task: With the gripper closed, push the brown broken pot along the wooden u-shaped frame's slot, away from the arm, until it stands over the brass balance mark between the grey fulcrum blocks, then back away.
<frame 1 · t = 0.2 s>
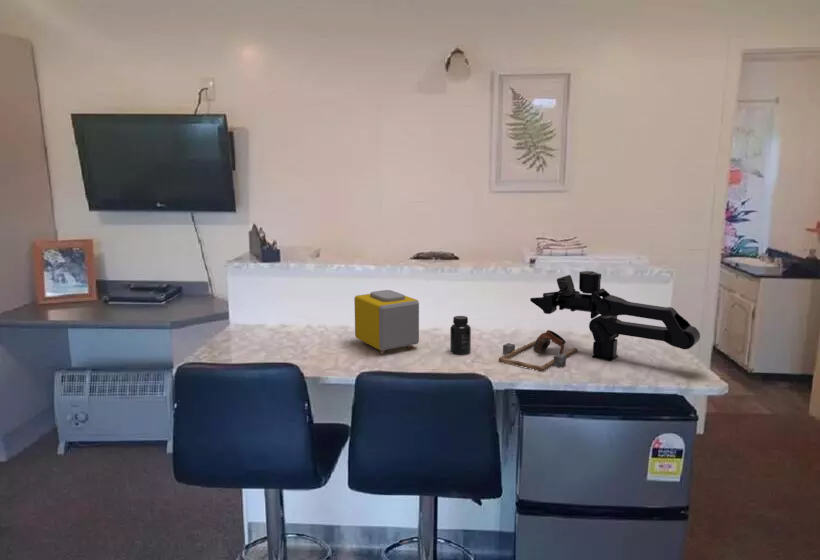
hand: (537, 297, 208), 16 cm above the table, tool horizontal, fingers open, 9 cm apart
wooden u-shaped frame: (533, 359, 193), on the table
alarm clock: (387, 346, 209), on the table
supplement bottle: (460, 352, 201), on the table
brown broken pot: (547, 353, 201), on the table
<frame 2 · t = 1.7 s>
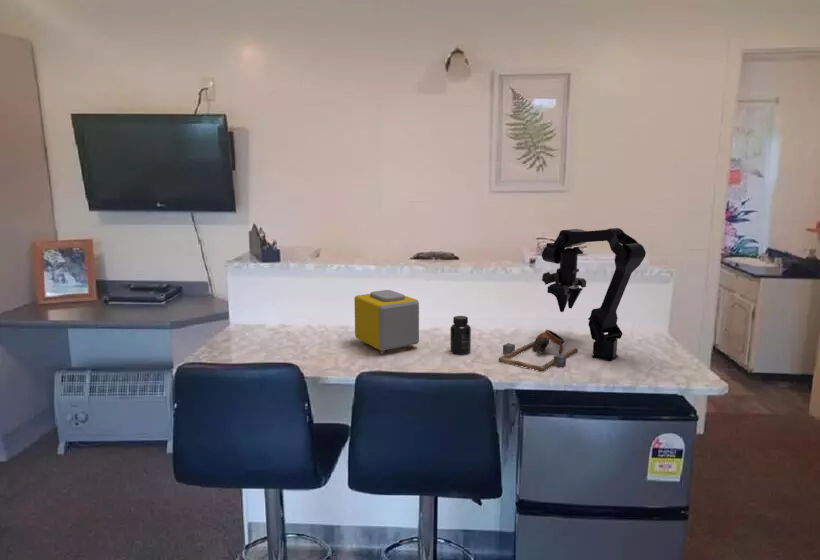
hand: (566, 310, 208), 12 cm above the table, tool pointing down, fingers open, 6 cm apart
nothing on the table moved.
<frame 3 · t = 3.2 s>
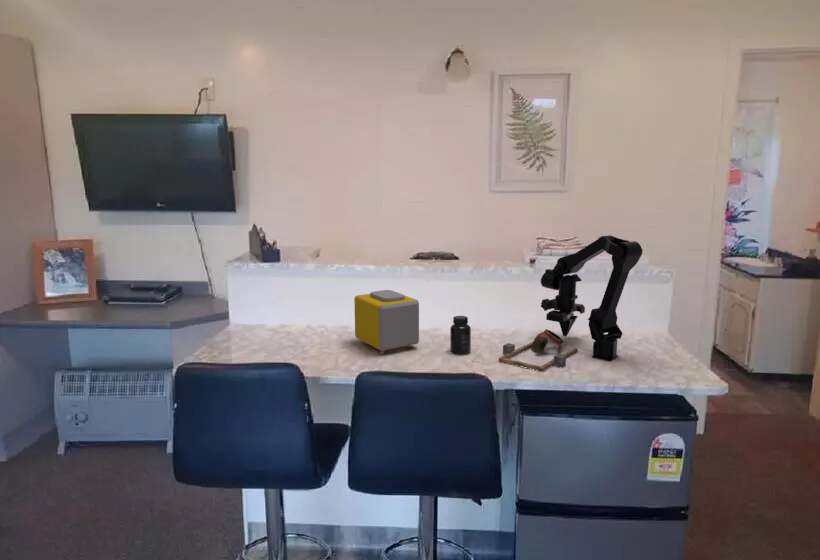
hand: (564, 336, 210), 3 cm above the table, tool pointing down, fingers closed
nothing on the table moved.
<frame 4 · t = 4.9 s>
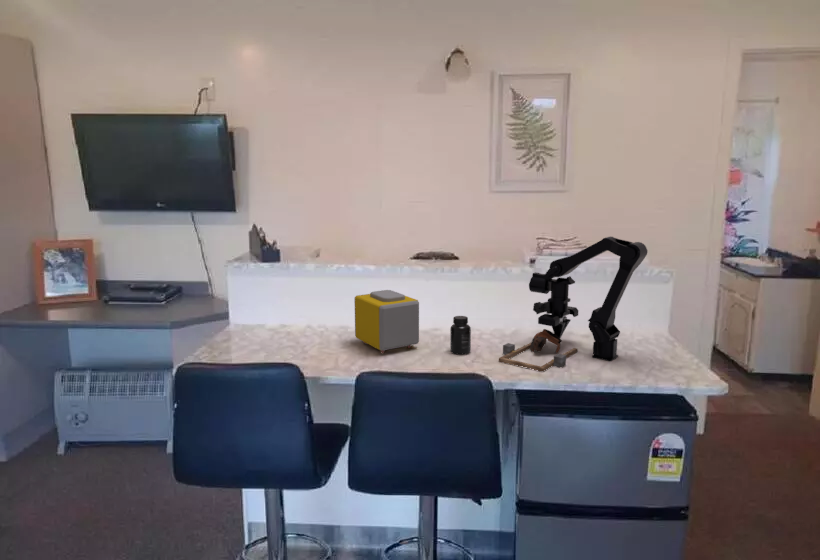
hand: (557, 339, 206), 3 cm above the table, tool pointing down, fingers closed
brown broken pot: (543, 352, 202), on the table, touching gripper
everything else where it was.
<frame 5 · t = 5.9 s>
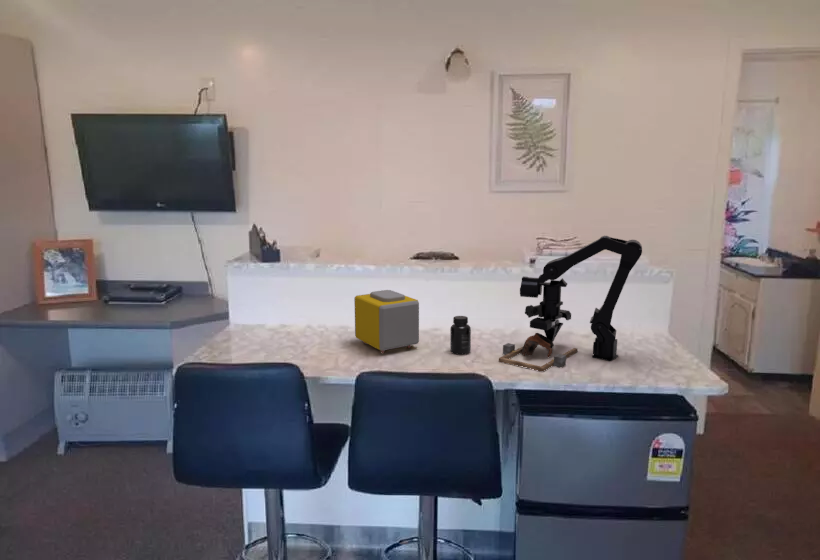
hand: (550, 343, 201), 3 cm above the table, tool pointing down, fingers closed
brown broken pot: (535, 356, 197), on the table, touching gripper
everything else where it was.
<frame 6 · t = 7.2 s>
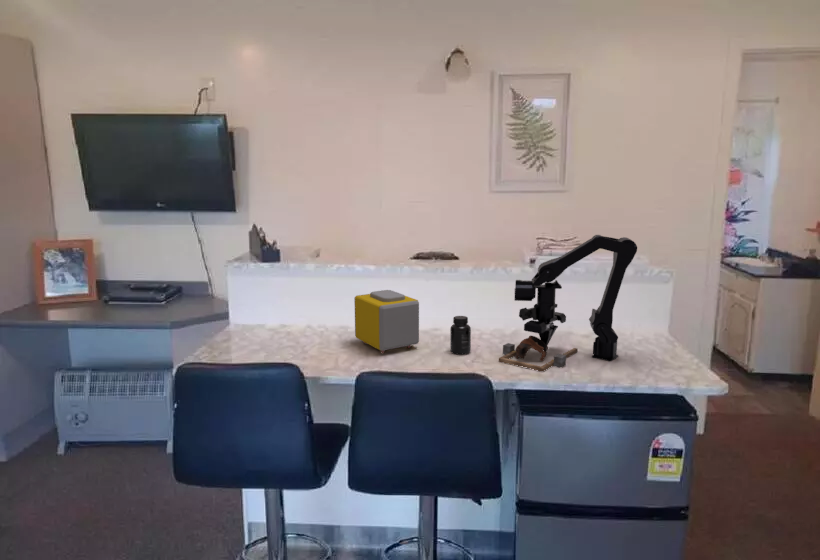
hand: (544, 347, 198), 2 cm above the table, tool pointing down, fingers closed
brown broken pot: (528, 359, 194), on the table, touching gripper
everything else where it was.
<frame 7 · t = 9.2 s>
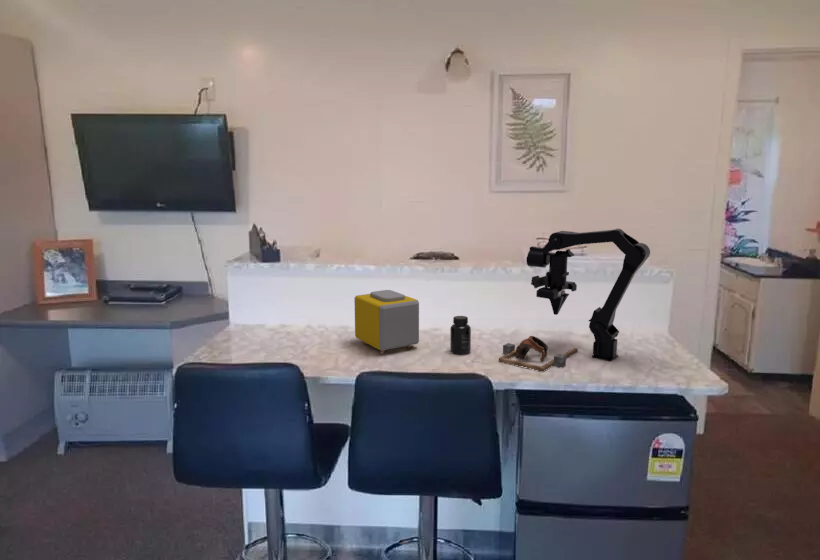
hand: (555, 314, 203), 12 cm above the table, tool pointing down, fingers closed
brown broken pot: (528, 359, 194), on the table
everything else where it was.
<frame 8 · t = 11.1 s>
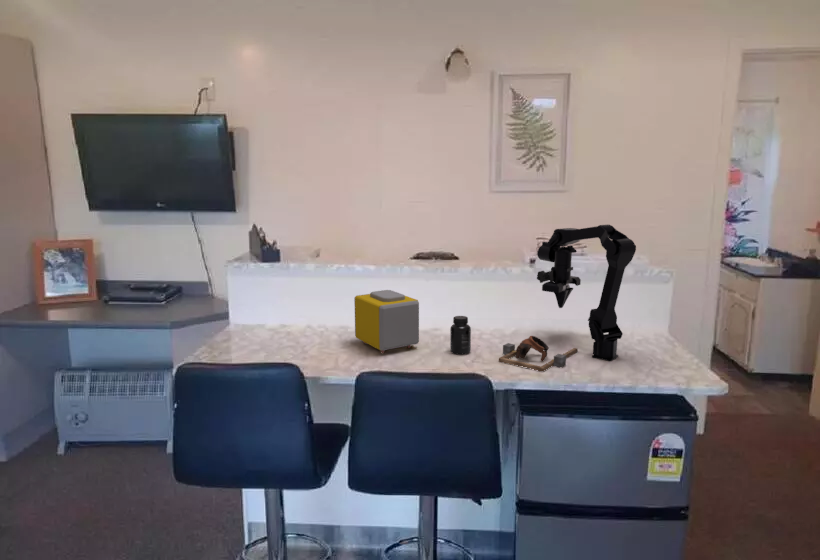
hand: (560, 307, 212), 12 cm above the table, tool pointing down, fingers closed
nothing on the table moved.
at the end: brown broken pot inside the target area on the wooden u-shaped frame (1.6 cm from its centre), point 0.0 cm above the wooden u-shaped frame's base; brown broken pot tilted 0°; brown broken pot moved 9.9 cm from its start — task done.
